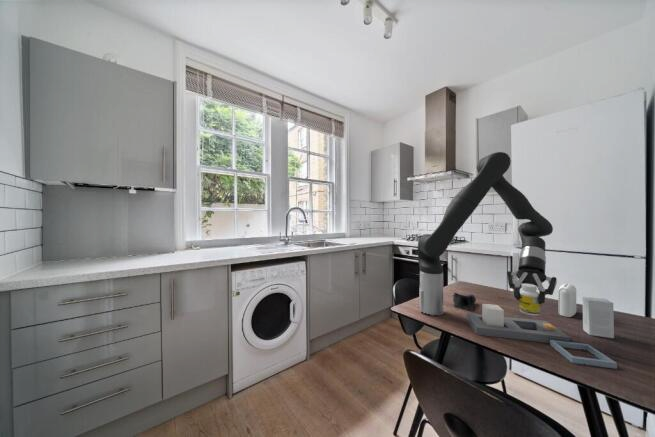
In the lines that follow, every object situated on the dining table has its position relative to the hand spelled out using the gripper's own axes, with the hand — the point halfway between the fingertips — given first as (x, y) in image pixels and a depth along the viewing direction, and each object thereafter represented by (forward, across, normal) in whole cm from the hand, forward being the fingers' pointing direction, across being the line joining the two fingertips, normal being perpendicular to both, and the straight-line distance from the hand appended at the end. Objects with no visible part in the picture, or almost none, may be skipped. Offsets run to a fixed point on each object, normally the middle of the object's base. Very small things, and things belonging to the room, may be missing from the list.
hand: (528, 300), depth 80 cm
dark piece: (-1, -23, +18) cm, 29 cm away
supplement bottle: (+2, 0, +5) cm, 5 cm away
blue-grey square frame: (+12, +12, +4) cm, 18 cm away
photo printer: (-15, +9, +32) cm, 37 cm away
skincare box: (-3, +16, +20) cm, 26 cm away
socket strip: (+9, -4, +8) cm, 13 cm away
